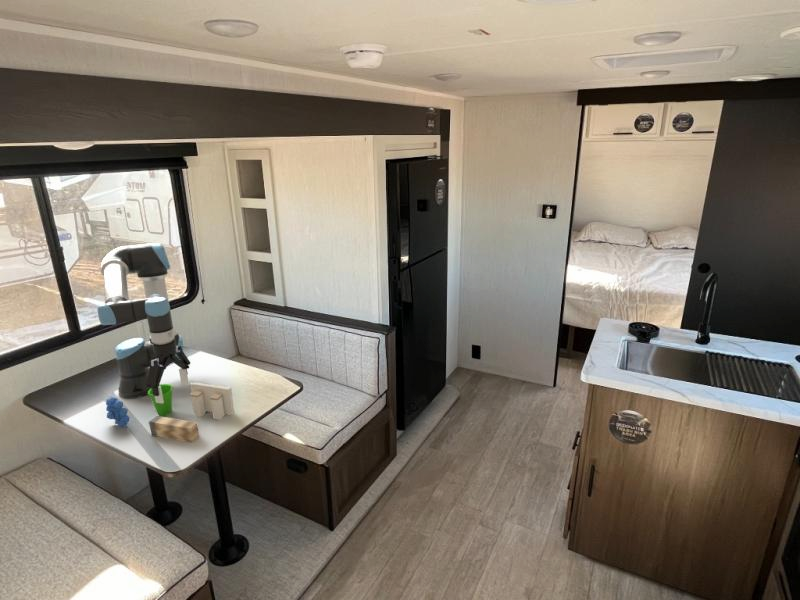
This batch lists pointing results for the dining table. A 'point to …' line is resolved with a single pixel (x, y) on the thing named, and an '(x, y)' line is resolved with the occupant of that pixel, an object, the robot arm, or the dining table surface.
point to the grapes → (117, 411)
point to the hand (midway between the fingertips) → (173, 393)
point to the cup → (167, 397)
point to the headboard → (211, 400)
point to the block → (174, 428)
